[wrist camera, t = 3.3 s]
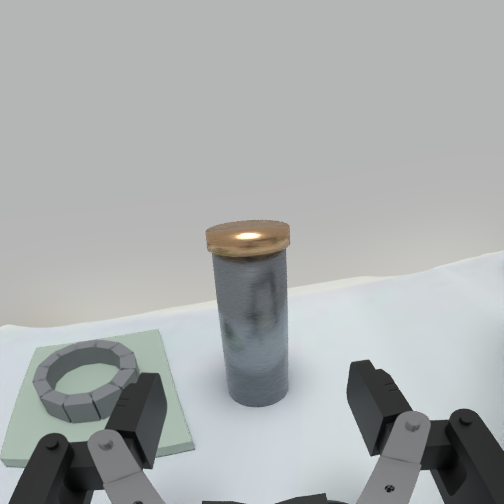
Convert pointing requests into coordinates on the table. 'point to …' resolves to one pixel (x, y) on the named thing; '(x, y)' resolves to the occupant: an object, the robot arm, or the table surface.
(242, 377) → the copper lidded jar
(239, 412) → the table surface
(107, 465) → the robot arm
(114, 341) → the green base with ring
